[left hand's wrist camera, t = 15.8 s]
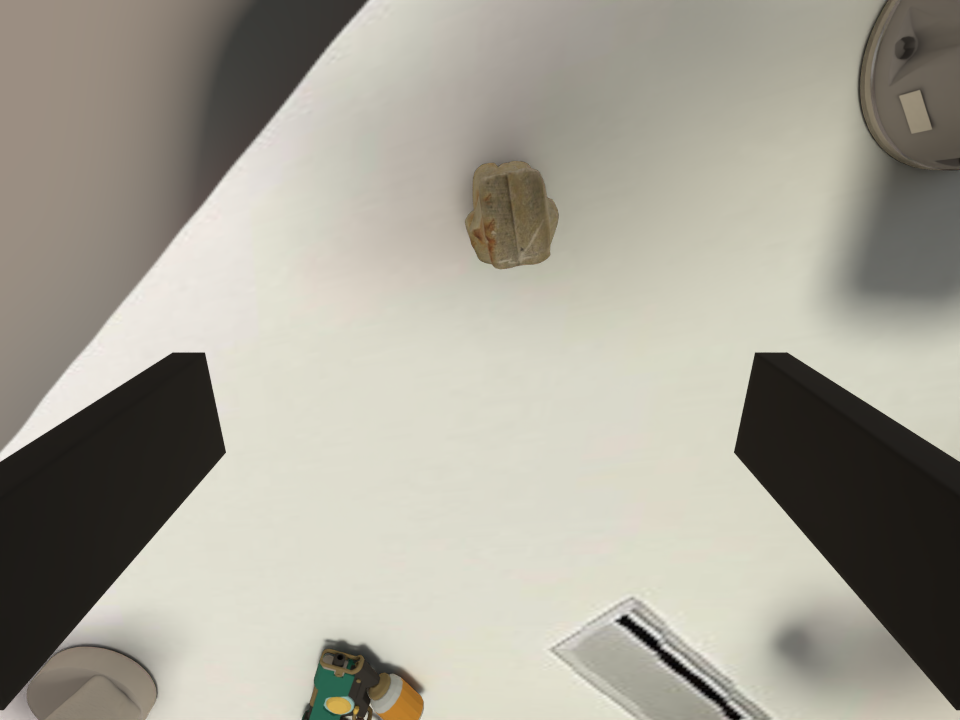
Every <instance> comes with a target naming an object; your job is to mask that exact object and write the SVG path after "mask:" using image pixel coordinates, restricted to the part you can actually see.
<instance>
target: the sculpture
mask: <svg viewBox="0 0 960 720" xmlns="http://www.w3.org/2000/svg"><path fill="white" fill-rule="evenodd" d="M473 207H474V211H472V212H471V213H470V214H469V215H468V217H467V218H466V220H465V225H466V229H467V232H468V234H469V237H470V240H471V244H472V246H473V248H474V250H475V252H476V254H477V256H478V258H479V260H481V261H482V262H485V263H488V264H492V265H493V266H494V267H495V268H497V269H507V268H512V267H515V266H520V265H531V264H538V263H541V262H542V261H544V260H546V259H547V258H548V257H549V256H550V244H551V242H552V239H553V236H554V233H555V230H556V227H557V223H558V218H559V214H558V210H557V207H556V205H555V203H554V201H553V200H552V199H549V198H547V195H546V188H545V184H544V181H543V178H542V176H541V174H540V173H539V171H538V170H535V169H531V167H530V166H529V164H527V163H525V162H520V161H512V162H509V163H503V164H501V165H500V166H499V167H498V166H497V165H496V164H495V163H487V164H483V165H481V166H480V167H479V168H478V169H477V170H476V171H475V174H474V177H473Z"/></svg>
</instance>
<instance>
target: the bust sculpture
mask: <svg viewBox="0 0 960 720" xmlns="http://www.w3.org/2000/svg"><path fill="white" fill-rule="evenodd" d="M27 701H28V705H29V707H30V709H31V711H32V712H33V714H34V715H35V716H36V717H37V719H38V720H145V719H146V717H147V716H148V714H149V712H150V711H151V709H152V707H153V706H154V704H155V701H156V687H155V684H154V682H153V680H152V678H151V677H150V675H149V674H148V673H147V672H146V671H145V670H144V669H143V668H142V667H141V666H140V665H139V664H137V663H136V662H135V661H133V660H132V659H130V658H128V657H126V656H124V655H122V654H120V653H117V652H114V651H111V650H108V649H103V648H98V647H75V648H70V649H66V650H64V651H61V652H59V653H58V654H56V655H55V656H53V657H52V658H51V659H50V660H49V661H48V663H47V664H46V665H45V666H44V667H43V668H42V670H41V671H40V672H39V673H38V674H37V675H36V677H35V678H34V679H33V680H32V681H31V683H30V684H29V686H28V689H27Z"/></svg>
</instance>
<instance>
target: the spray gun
mask: <svg viewBox="0 0 960 720" xmlns="http://www.w3.org/2000/svg"><path fill="white" fill-rule="evenodd" d="M325 653H332V654H335V656H330V655H325V656H324V654H325ZM348 658H349V660H348V661H347V659H348ZM352 659H353V660H359V659H360V661H357V662H356V663H355V664H354V662H353V660H352ZM314 684H315V687H314V690H313V693H312V697H311V700H310V705H311V706H310V709H309V710H308V711H306V712H305V714H304V715H303V717H302V720H342V719H341V718H340V717H341V716H352V720H364V719H363V718H364V717H365V715H366V712H367V711H368V712H369V713H368V718H367V720H371V719H372V712H373V710H372V708H371V707H370V706H369V704H370V700H371V705H372V707H373V709H374V711H375V712H376V713H377V714H378V715H379V716H380V717H381V718H382V719H383V720H420V718H421V716H422V714H423V710H424V702H423V699H422V697H421V696H420V695H419V694H418V693H417V692H416V691H415V690H414V689H413V688H412V687H411V686H410V685H409V684H408V683H406V682H405V681H404V680H403V679H402V678H401V677H399V676H397V675H395V674H387V673H381V674H379V675H378V674H377V672H376V671H375V670H374V669H373V668H372V667H371V666H370V665H369V664H368V663H367V661H366V660H364V657H363V656H362V655H358V656H353V655H350V654H347V653H343V652H340V651H336V650H333V649H325V650H324V651H323V652H322V655H321V658H320V661H319V664H318V668H317V671H316V674H315V677H314ZM367 687H368V688H369V692H368V694H369V696H368V694H367V692H366V691H365V690H366V688H367ZM369 697H370V698H371V699H370V698H369ZM356 716H357V718H356Z"/></svg>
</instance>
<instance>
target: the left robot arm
mask: <svg viewBox="0 0 960 720" xmlns="http://www.w3.org/2000/svg"><path fill="white" fill-rule="evenodd" d="M860 96H861V105H862V111H863V114H864V118H865V121H866V123H867V126H868V128H869V130H870V132H871V134H872V136H873V138H874V139H875V140H876V142H877V143H878V144H879V145H880V147H881V148H882V149H883V150H884V151H885V152H887V153H888V154H889V155H890V156H892V157H893V158H895V159H896V160H898V161H900V162H902V163H904V164H907V165H909V166H913V167H916V168H921V169H929V170H960V0H888V2H887V3H886V5H885V6H884V8H883V10H882V12H881V14H880V15H879V17H878V19H877V21H876V23H875V26H874V28H873V30H872V32H871V35H870V38H869V40H868V43H867V47H866V50H865V54H864V58H863V63H862V69H861V77H860ZM225 453H226V451H225V446H224V441H223V436H222V432H221V427H220V422H219V417H218V413H217V408H216V403H215V398H214V394H213V389H212V384H211V379H210V375H209V370H208V365H207V360H206V356H205V353H171V354H170V355H168V356H167V357H165V358H163V359H162V360H160V361H159V362H157V363H156V364H154V365H152V366H151V367H149V368H148V369H146V370H145V371H143V372H141V373H140V374H138V375H137V376H135V377H134V378H132V379H130V380H129V381H127V382H126V383H124V384H122V385H121V386H119V387H118V388H116V389H115V390H113V391H111V392H110V393H108V394H107V395H105V396H104V397H102V398H100V399H99V400H97V401H96V402H94V403H92V404H91V405H89V406H88V407H86V408H85V409H83V410H81V411H80V412H78V413H77V414H75V415H74V416H72V417H70V418H69V419H67V420H66V421H64V422H62V423H61V424H59V425H58V426H56V427H55V428H53V429H51V430H50V431H48V432H47V433H45V434H44V435H42V436H40V437H39V438H37V439H36V440H34V441H32V442H31V443H29V444H28V445H26V446H25V447H23V448H21V449H20V450H18V451H17V452H15V453H14V454H12V455H10V456H9V457H7V458H6V459H4V460H3V461H1V462H0V710H4V709H5V708H6V707H7V706H8V704H9V703H10V702H11V701H12V700H13V699H14V698H15V696H16V695H17V694H18V693H19V692H20V691H21V689H22V688H23V687H24V686H25V685H26V684H27V682H28V681H29V680H30V679H31V678H32V677H33V676H34V674H35V673H36V672H37V671H38V670H39V669H40V667H41V666H42V665H43V664H44V663H45V662H46V660H47V659H48V658H49V657H50V656H51V655H52V653H53V652H54V651H55V650H56V649H57V648H58V647H59V645H60V644H61V643H62V642H63V641H64V640H65V638H66V637H67V636H68V635H69V634H70V633H71V631H72V630H73V629H74V628H75V627H76V626H77V625H78V623H79V622H80V621H81V620H82V619H83V618H84V616H85V615H86V614H87V613H88V612H89V611H90V609H91V608H92V607H93V606H94V605H95V604H96V602H97V601H98V600H99V599H100V598H101V597H102V596H103V594H104V593H105V592H106V591H107V590H108V589H109V587H110V586H111V585H112V584H113V583H114V582H115V580H116V579H117V578H118V577H119V576H120V575H121V574H122V572H123V571H124V570H125V569H126V568H127V567H128V565H129V564H130V563H131V562H132V561H133V560H134V558H135V557H136V556H137V555H138V554H139V553H140V551H141V550H142V549H143V548H144V547H145V546H146V545H147V543H148V542H149V541H150V540H151V539H152V538H153V536H154V535H155V534H156V533H157V532H158V531H159V529H160V528H161V527H162V526H163V525H164V524H165V523H166V521H167V520H168V519H169V518H170V517H171V516H172V514H173V513H174V512H175V511H176V510H177V509H178V507H179V506H180V505H181V504H182V503H183V502H184V500H185V499H186V498H187V497H188V496H189V495H190V494H191V492H192V491H193V490H194V489H195V488H196V487H197V485H198V484H199V483H200V482H201V481H202V480H203V478H204V477H205V476H206V475H207V474H208V473H209V472H210V470H211V469H212V468H213V467H214V466H215V465H216V463H217V462H218V461H219V460H220V459H221V458H222V456H223V455H224V454H225ZM734 453H735V454H736V455H737V456H738V458H739V459H740V460H741V461H742V462H743V463H744V465H745V466H746V467H747V468H748V469H749V470H750V472H751V473H752V474H753V475H754V476H755V477H756V478H757V480H758V481H759V482H760V483H761V484H762V485H763V487H764V488H765V489H766V490H767V491H768V492H769V494H770V495H771V496H772V497H773V498H774V499H775V500H776V502H777V503H778V504H779V505H780V506H781V507H782V509H783V510H784V511H785V512H786V513H787V514H788V516H789V517H790V518H791V519H792V520H793V521H794V523H795V524H796V525H797V526H798V527H799V528H800V529H801V531H802V532H803V533H804V534H805V535H806V536H807V538H808V539H809V540H810V541H811V542H812V543H813V545H814V546H815V547H816V548H817V549H818V550H819V551H820V553H821V554H822V555H823V556H824V557H825V558H826V560H827V561H828V562H829V563H830V564H831V565H832V567H833V568H834V569H835V570H836V571H837V572H838V574H839V575H840V576H841V577H842V578H843V579H844V580H845V582H846V583H847V584H848V585H849V586H850V587H851V589H852V590H853V591H854V592H855V593H856V594H857V596H858V597H859V598H860V599H861V600H862V601H863V602H864V604H865V605H866V606H867V607H868V608H869V609H870V611H871V612H872V613H873V614H874V615H875V616H876V618H877V619H878V620H879V621H880V622H881V623H882V625H883V626H884V627H885V628H886V629H887V630H888V631H889V633H890V634H891V635H892V636H893V637H894V638H895V640H896V641H897V642H898V643H899V644H900V645H901V647H902V648H903V649H904V650H905V651H906V652H907V653H908V655H909V656H910V657H911V658H912V659H913V660H914V662H915V663H916V664H917V665H918V666H919V667H920V669H921V670H922V671H923V672H924V673H925V674H926V676H927V677H928V678H929V679H930V680H931V681H932V682H933V684H934V685H935V686H936V687H937V688H938V689H939V691H940V692H941V693H942V694H943V695H944V696H945V698H946V699H947V700H948V701H949V702H950V703H951V705H952V706H953V707H954V708H955V709H956V710H960V462H959V461H957V460H956V459H954V458H953V457H951V456H950V455H948V454H946V453H945V452H943V451H942V450H940V449H939V448H937V447H935V446H934V445H932V444H931V443H929V442H928V441H926V440H924V439H923V438H921V437H920V436H918V435H916V434H915V433H913V432H912V431H910V430H909V429H907V428H905V427H904V426H902V425H901V424H899V423H898V422H896V421H894V420H893V419H891V418H890V417H888V416H886V415H885V414H883V413H882V412H880V411H879V410H877V409H875V408H874V407H872V406H871V405H869V404H868V403H866V402H864V401H863V400H861V399H860V398H858V397H856V396H855V395H853V394H852V393H850V392H849V391H847V390H845V389H844V388H842V387H841V386H839V385H838V384H836V383H834V382H833V381H831V380H830V379H828V378H826V377H825V376H823V375H822V374H820V373H819V372H817V371H815V370H814V369H812V368H811V367H809V366H808V365H806V364H804V363H803V362H801V361H800V360H798V359H796V358H795V357H793V356H792V355H790V354H789V353H755V356H754V360H753V365H752V370H751V375H750V379H749V384H748V389H747V394H746V398H745V403H744V408H743V413H742V417H741V422H740V427H739V432H738V436H737V441H736V446H735V451H734Z"/></svg>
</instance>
